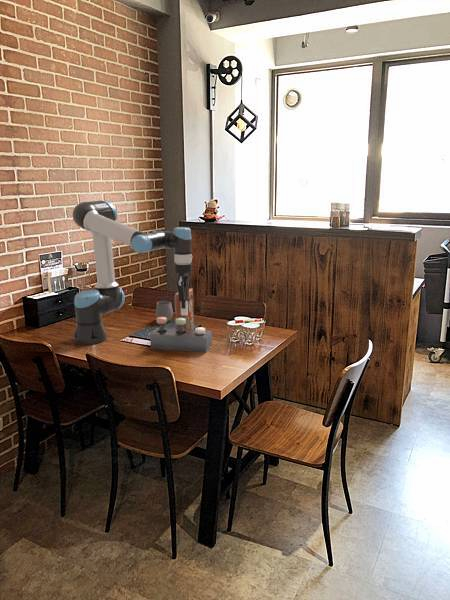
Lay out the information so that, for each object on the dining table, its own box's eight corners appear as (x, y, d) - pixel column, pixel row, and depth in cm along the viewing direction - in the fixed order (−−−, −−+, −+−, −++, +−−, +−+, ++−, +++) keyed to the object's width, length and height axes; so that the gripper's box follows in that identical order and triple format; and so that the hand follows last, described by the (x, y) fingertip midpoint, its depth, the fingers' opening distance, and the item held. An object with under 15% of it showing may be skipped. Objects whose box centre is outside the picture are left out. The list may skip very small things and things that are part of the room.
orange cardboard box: (195, 328, 255) (187, 338, 241) (182, 328, 256) (173, 337, 242) (194, 288, 250) (186, 295, 236) (181, 287, 251) (172, 294, 237)
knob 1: (155, 336, 228) (155, 319, 226) (159, 333, 232) (158, 316, 230) (165, 337, 227) (164, 319, 225) (168, 334, 231) (167, 317, 229)
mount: (150, 348, 227) (150, 334, 225) (158, 341, 236) (157, 327, 234) (206, 352, 222) (206, 337, 220) (211, 344, 231) (211, 330, 229)
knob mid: (174, 337, 226) (174, 320, 224) (177, 334, 230) (177, 317, 228) (184, 338, 225) (184, 320, 223) (187, 335, 229) (186, 318, 227)
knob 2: (194, 347, 225) (193, 330, 223) (196, 344, 230) (196, 327, 227) (204, 348, 224) (203, 330, 222) (206, 344, 229) (206, 327, 227)
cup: (164, 317, 276) (163, 299, 274) (176, 319, 271) (176, 302, 269) (152, 321, 269) (151, 303, 267) (165, 324, 264) (164, 305, 261)
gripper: (187, 266, 212) (188, 319, 218) (195, 260, 224) (196, 311, 230) (170, 265, 213) (172, 318, 219) (179, 260, 226) (180, 310, 232)
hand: (184, 314), depth 225 cm, fingers closed
